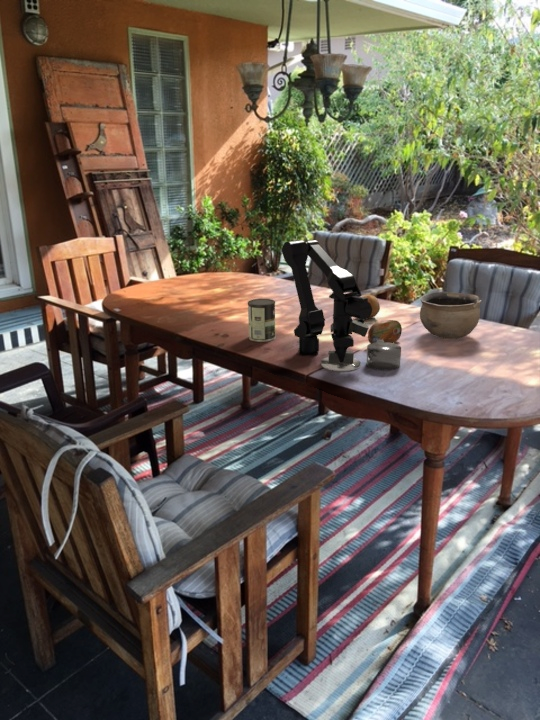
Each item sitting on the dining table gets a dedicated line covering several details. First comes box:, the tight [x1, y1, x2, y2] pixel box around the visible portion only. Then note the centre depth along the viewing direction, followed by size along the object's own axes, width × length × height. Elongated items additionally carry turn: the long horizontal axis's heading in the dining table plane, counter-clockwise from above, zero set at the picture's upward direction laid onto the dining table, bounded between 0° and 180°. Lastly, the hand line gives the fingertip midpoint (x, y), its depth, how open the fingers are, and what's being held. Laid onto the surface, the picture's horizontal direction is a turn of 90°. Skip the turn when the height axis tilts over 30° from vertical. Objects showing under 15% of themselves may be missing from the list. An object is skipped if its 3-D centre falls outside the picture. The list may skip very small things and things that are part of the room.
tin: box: [367, 319, 403, 344], centre depth 219 cm, size 15×3×8 cm, turn 125°
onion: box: [362, 293, 381, 320], centre depth 252 cm, size 10×10×10 cm
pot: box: [366, 340, 402, 371], centre depth 201 cm, size 11×16×6 cm
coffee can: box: [247, 298, 276, 343], centre depth 226 cm, size 10×10×14 cm
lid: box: [320, 350, 362, 372], centre depth 199 cm, size 13×13×5 cm
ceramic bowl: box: [419, 291, 482, 340], centre depth 226 cm, size 22×22×15 cm
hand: (340, 359), depth 199 cm, fingers open, 5 cm apart
